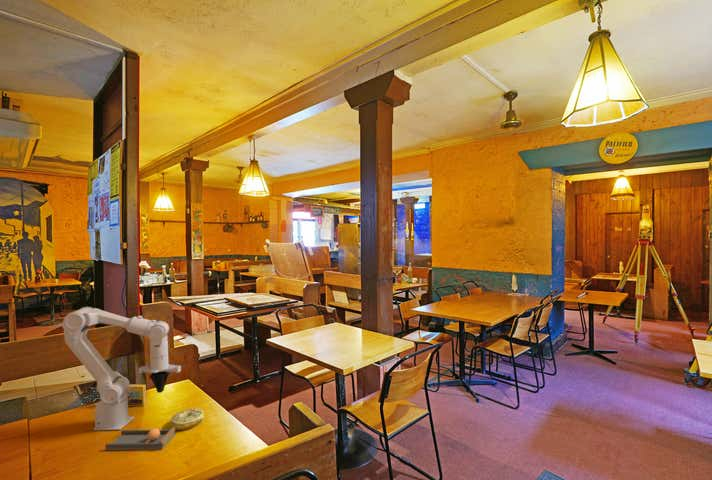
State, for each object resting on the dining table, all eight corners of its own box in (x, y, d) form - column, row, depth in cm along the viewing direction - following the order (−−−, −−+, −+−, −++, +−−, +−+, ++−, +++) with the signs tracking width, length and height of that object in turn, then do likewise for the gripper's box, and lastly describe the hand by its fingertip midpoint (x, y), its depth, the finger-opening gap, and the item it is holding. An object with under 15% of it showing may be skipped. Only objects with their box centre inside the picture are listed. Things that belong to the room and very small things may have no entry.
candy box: (104, 406, 138) (103, 386, 138) (108, 403, 140) (107, 383, 140) (143, 406, 137) (142, 386, 137) (147, 404, 139) (146, 383, 139)
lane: (105, 450, 110) (105, 442, 110) (122, 435, 118) (122, 427, 118) (162, 449, 110) (161, 441, 110) (175, 434, 118) (175, 427, 118)
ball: (156, 430, 112) (156, 442, 112) (162, 426, 116) (162, 437, 115) (145, 431, 112) (144, 443, 112) (151, 426, 116) (151, 438, 115)
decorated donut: (210, 420, 127) (209, 410, 127) (183, 435, 117) (182, 424, 117) (191, 413, 132) (191, 403, 132) (164, 427, 123) (164, 416, 122)
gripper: (132, 359, 124) (134, 396, 124) (173, 358, 124) (174, 396, 124) (145, 352, 131) (146, 387, 131) (183, 351, 131) (184, 387, 131)
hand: (160, 391), depth 128 cm, fingers closed
